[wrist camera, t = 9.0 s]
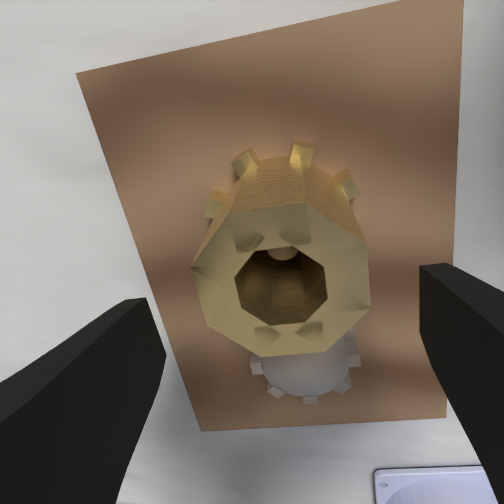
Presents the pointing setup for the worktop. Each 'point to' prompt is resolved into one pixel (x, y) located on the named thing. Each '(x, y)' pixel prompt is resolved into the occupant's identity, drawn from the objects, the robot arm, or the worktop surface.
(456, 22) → the carrier plate
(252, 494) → the worktop surface
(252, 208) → the gear
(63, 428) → the robot arm
